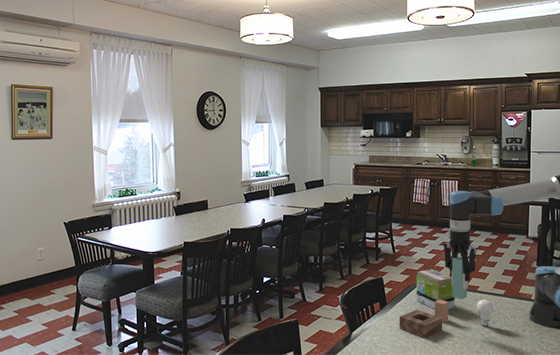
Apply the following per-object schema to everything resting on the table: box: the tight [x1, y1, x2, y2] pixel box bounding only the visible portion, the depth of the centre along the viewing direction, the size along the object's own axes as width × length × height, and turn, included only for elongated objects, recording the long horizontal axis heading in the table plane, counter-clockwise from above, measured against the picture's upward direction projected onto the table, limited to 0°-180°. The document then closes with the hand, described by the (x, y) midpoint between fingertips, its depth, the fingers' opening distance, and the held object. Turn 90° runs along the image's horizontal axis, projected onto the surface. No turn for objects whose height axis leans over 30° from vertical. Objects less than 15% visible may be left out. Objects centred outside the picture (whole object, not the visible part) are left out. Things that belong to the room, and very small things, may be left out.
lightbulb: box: [476, 298, 494, 327], centre depth 191 cm, size 6×6×11 cm
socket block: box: [399, 309, 443, 339], centre depth 188 cm, size 12×12×5 cm
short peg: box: [434, 300, 449, 323], centre depth 198 cm, size 4×4×8 cm
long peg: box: [452, 256, 468, 300], centre depth 186 cm, size 4×4×16 cm
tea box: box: [416, 268, 455, 310], centre depth 215 cm, size 15×10×15 cm, turn 25°
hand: (459, 286), depth 186 cm, fingers closed on long peg, 4 cm apart
